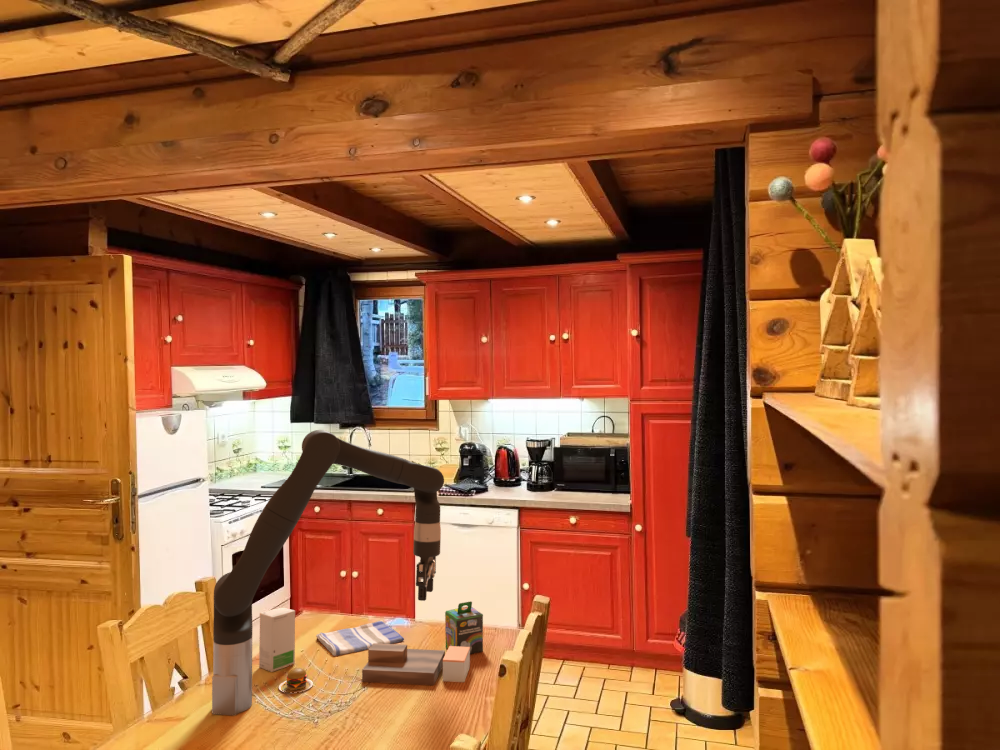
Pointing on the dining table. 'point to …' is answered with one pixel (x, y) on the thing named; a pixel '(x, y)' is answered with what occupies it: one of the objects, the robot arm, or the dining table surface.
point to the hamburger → (296, 679)
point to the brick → (456, 664)
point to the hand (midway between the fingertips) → (425, 595)
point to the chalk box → (464, 628)
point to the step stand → (402, 665)
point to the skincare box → (277, 639)
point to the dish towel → (359, 638)
